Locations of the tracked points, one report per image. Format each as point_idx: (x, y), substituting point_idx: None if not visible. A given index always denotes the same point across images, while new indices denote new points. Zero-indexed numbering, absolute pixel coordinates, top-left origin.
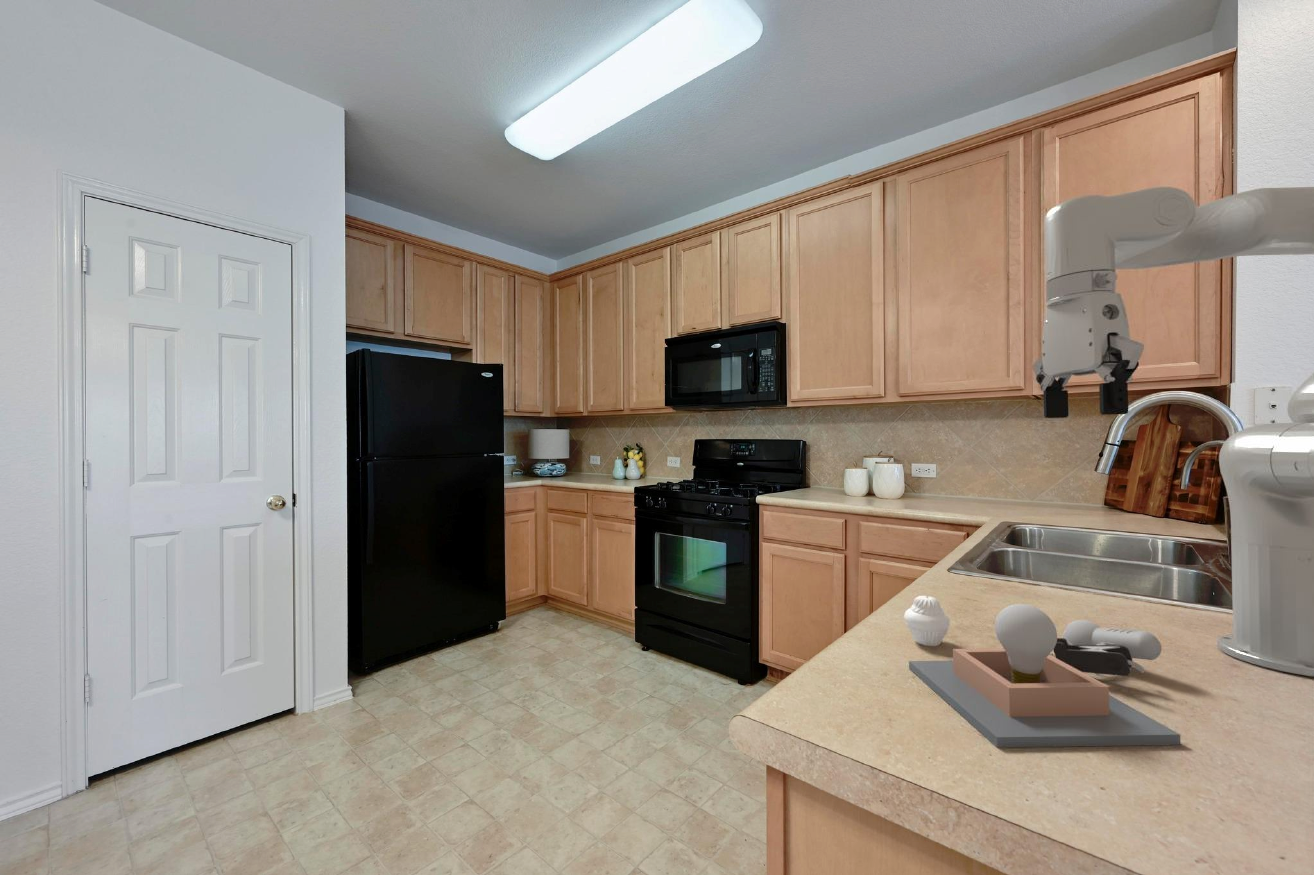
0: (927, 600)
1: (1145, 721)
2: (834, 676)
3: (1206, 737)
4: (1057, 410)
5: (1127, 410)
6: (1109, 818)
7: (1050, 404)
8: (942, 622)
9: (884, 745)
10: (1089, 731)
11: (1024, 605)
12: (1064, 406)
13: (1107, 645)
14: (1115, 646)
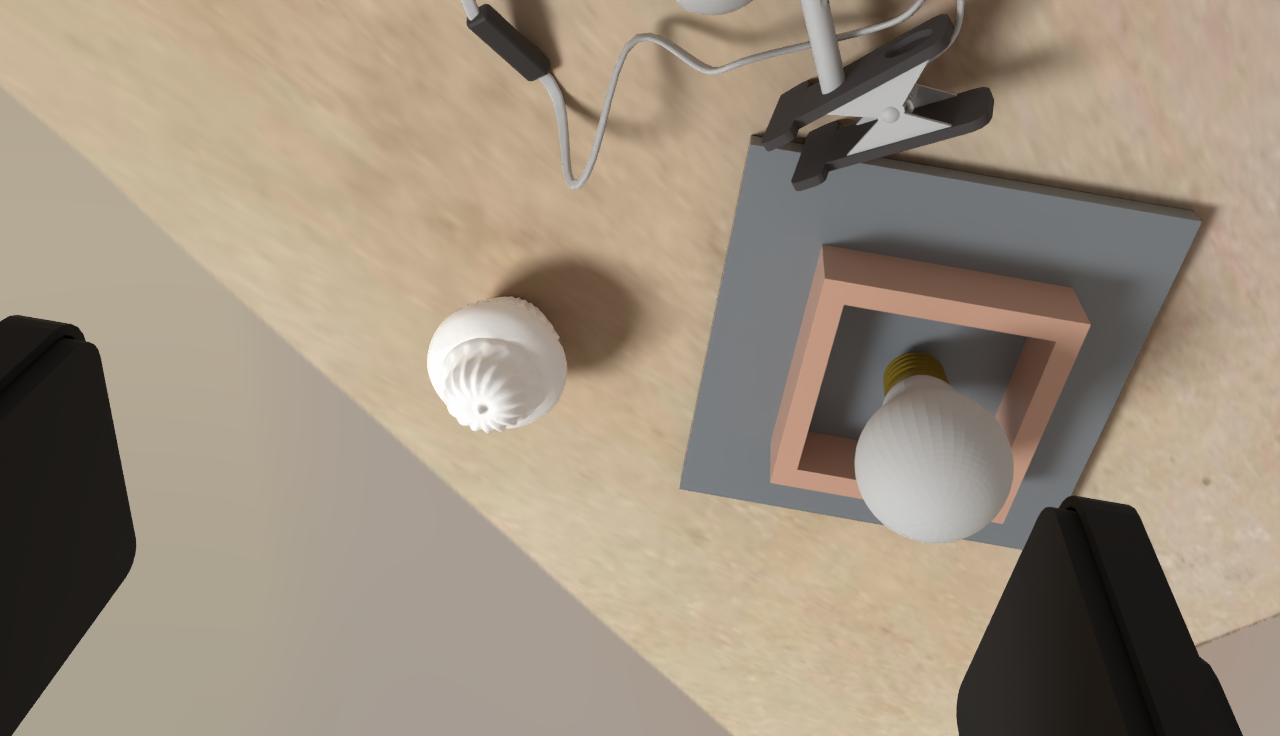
0: (503, 418)
1: (1127, 235)
2: (685, 626)
3: (1203, 113)
4: (75, 528)
5: (1134, 526)
6: (1258, 534)
7: (40, 673)
8: (562, 369)
9: (959, 678)
10: (1101, 388)
11: (945, 519)
12: (5, 475)
13: (894, 70)
14: (917, 64)
